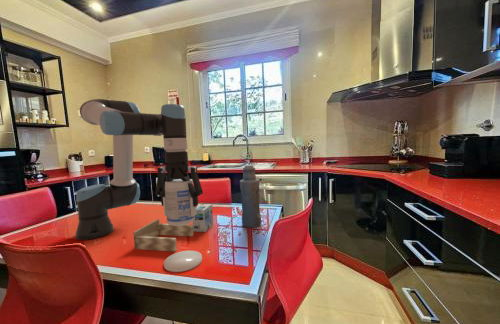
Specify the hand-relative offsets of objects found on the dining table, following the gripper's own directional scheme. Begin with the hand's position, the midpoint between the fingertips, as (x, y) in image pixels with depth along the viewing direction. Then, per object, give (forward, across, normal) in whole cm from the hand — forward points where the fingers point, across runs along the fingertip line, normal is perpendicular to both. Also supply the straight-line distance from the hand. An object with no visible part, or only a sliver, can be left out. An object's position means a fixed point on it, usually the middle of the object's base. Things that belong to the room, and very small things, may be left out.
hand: (180, 214), depth 78 cm
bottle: (+17, +17, +38) cm, 45 cm away
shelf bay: (+17, -16, +14) cm, 27 cm away
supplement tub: (+3, 0, 0) cm, 3 cm away
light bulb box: (+17, -6, +31) cm, 36 cm away
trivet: (+17, 0, 0) cm, 17 cm away
